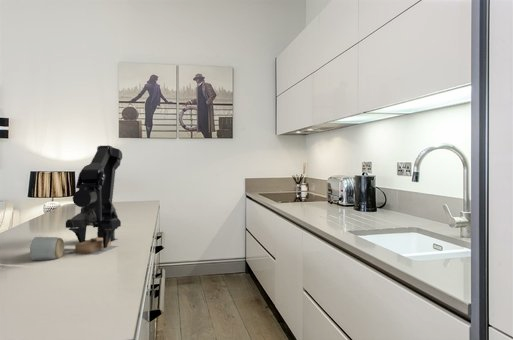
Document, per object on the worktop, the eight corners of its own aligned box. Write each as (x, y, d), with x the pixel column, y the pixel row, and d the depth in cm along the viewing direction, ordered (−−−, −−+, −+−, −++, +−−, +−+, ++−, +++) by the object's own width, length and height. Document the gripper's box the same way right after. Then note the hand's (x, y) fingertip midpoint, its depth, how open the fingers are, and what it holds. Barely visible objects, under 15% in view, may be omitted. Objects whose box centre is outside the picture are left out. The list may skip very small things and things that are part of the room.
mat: (90, 246, 133) (90, 244, 133) (118, 247, 131) (118, 246, 131) (66, 254, 122) (66, 252, 122) (97, 256, 119) (97, 254, 119)
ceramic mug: (57, 262, 113) (57, 238, 113) (29, 263, 111) (28, 239, 111) (68, 254, 123) (68, 232, 123) (42, 255, 122) (42, 233, 121)
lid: (96, 245, 132) (96, 235, 132) (110, 246, 131) (110, 235, 131) (75, 252, 122) (75, 241, 121) (90, 253, 120) (90, 242, 120)
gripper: (52, 206, 120) (54, 251, 120) (100, 206, 116) (102, 254, 116) (76, 202, 131) (77, 244, 131) (121, 202, 127) (122, 246, 127)
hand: (93, 247), depth 126 cm, fingers open, 9 cm apart
